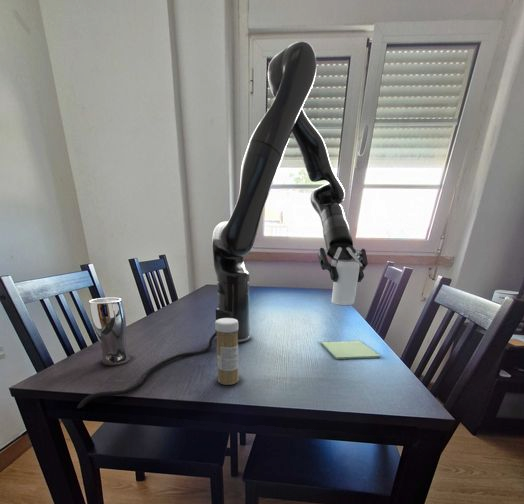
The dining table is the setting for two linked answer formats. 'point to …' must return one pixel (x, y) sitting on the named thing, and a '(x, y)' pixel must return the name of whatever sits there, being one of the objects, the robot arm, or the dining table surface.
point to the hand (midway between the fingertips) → (348, 280)
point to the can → (345, 283)
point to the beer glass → (110, 329)
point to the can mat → (349, 350)
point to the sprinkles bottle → (227, 350)
